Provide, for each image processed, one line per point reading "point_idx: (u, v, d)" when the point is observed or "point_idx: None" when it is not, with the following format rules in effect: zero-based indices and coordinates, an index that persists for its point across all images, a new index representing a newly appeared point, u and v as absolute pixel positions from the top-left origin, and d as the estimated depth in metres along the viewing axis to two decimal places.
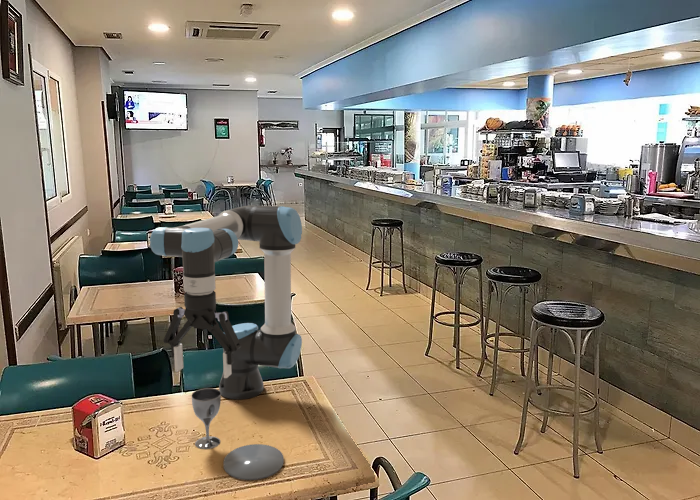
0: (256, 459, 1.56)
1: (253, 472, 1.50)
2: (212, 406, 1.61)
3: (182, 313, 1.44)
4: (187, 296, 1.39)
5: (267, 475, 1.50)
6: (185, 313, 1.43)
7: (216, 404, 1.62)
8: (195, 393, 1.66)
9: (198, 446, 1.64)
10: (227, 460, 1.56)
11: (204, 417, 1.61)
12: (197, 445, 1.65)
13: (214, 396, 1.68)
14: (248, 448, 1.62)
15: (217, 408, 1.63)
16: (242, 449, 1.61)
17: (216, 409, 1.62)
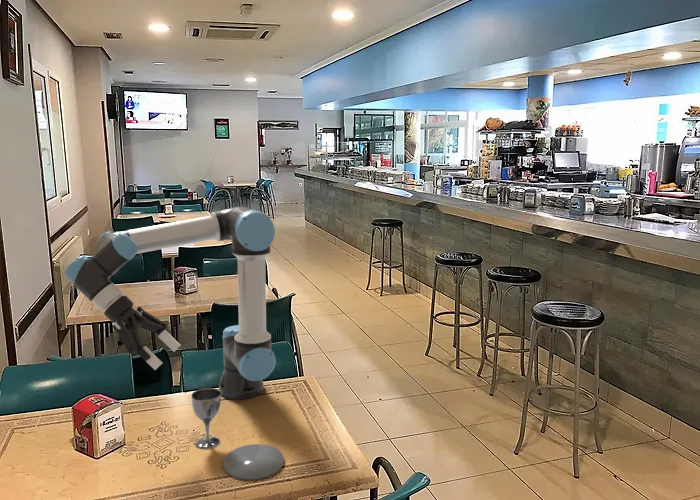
0: (256, 459, 1.56)
1: (253, 472, 1.50)
2: (212, 406, 1.61)
3: None
4: None
5: (267, 475, 1.50)
6: None
7: (216, 404, 1.62)
8: (195, 393, 1.66)
9: (198, 446, 1.64)
10: (227, 460, 1.56)
11: (204, 417, 1.61)
12: (197, 445, 1.65)
13: (214, 396, 1.68)
14: (248, 448, 1.62)
15: (217, 408, 1.63)
16: (242, 449, 1.61)
17: (216, 409, 1.62)
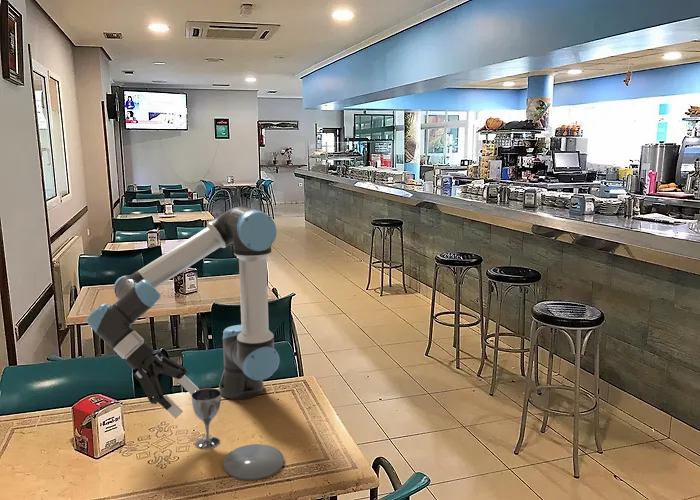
0: (256, 459, 1.56)
1: (253, 472, 1.50)
2: (212, 406, 1.61)
3: None
4: None
5: (267, 475, 1.50)
6: None
7: (216, 404, 1.62)
8: (195, 393, 1.66)
9: (198, 446, 1.64)
10: (227, 460, 1.56)
11: (204, 417, 1.61)
12: (197, 445, 1.65)
13: (214, 396, 1.68)
14: (248, 448, 1.62)
15: (217, 408, 1.63)
16: (242, 449, 1.61)
17: (216, 409, 1.62)
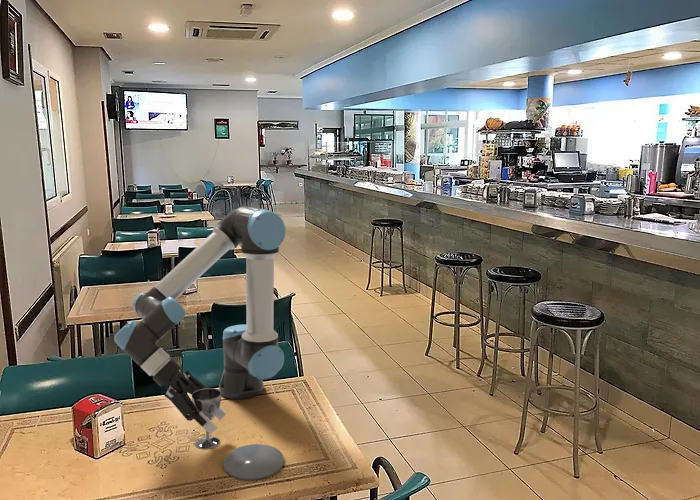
0: (256, 459, 1.56)
1: (253, 472, 1.50)
2: (212, 406, 1.61)
3: None
4: None
5: (267, 475, 1.50)
6: None
7: (216, 404, 1.62)
8: (195, 393, 1.66)
9: (198, 446, 1.64)
10: (227, 460, 1.56)
11: None
12: (197, 445, 1.65)
13: (214, 396, 1.68)
14: (248, 448, 1.62)
15: (217, 408, 1.63)
16: (242, 449, 1.61)
17: (216, 409, 1.62)
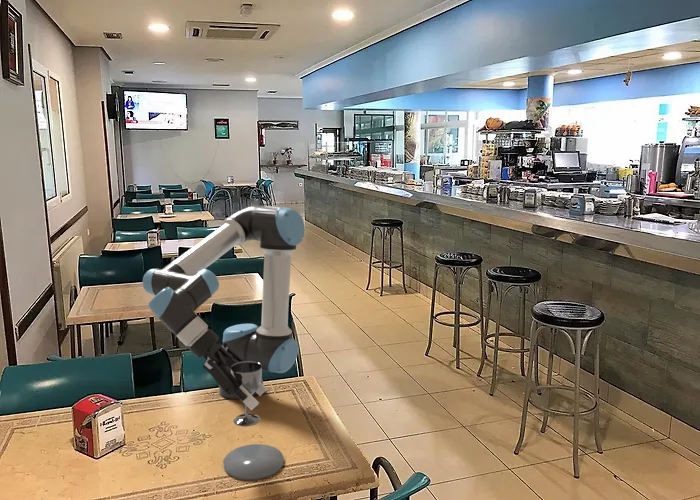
0: (256, 459, 1.56)
1: (253, 472, 1.50)
2: (253, 379, 1.49)
3: None
4: None
5: (267, 475, 1.50)
6: None
7: (257, 378, 1.50)
8: (234, 366, 1.53)
9: (237, 423, 1.52)
10: (227, 460, 1.56)
11: None
12: (236, 422, 1.52)
13: (254, 370, 1.55)
14: (248, 448, 1.62)
15: (258, 382, 1.51)
16: (242, 449, 1.61)
17: (257, 383, 1.50)
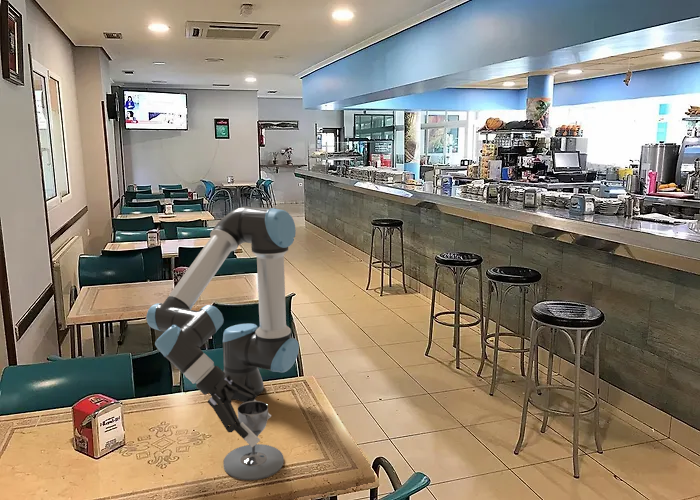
0: None
1: (253, 472, 1.50)
2: (260, 420, 1.51)
3: None
4: None
5: (267, 475, 1.50)
6: None
7: (264, 418, 1.52)
8: (241, 407, 1.56)
9: (244, 463, 1.54)
10: (227, 460, 1.56)
11: None
12: (243, 462, 1.55)
13: (260, 409, 1.58)
14: (248, 448, 1.62)
15: (265, 422, 1.53)
16: (242, 449, 1.61)
17: (264, 424, 1.53)
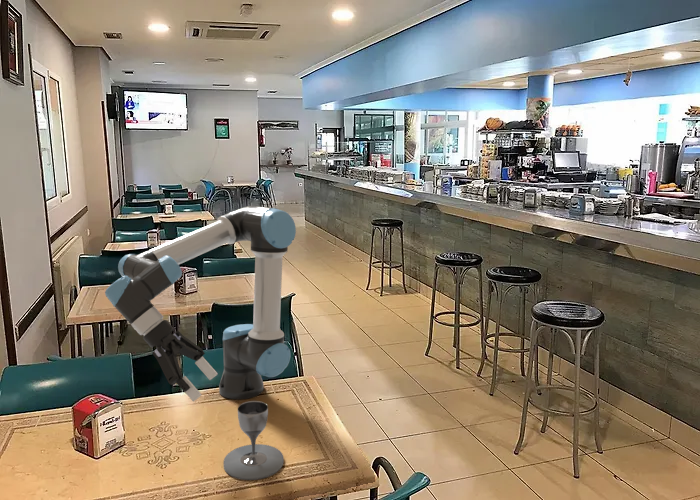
0: None
1: (253, 472, 1.50)
2: (260, 420, 1.51)
3: None
4: None
5: (267, 475, 1.50)
6: None
7: (264, 418, 1.52)
8: (241, 407, 1.56)
9: (244, 463, 1.54)
10: (227, 460, 1.56)
11: (251, 432, 1.52)
12: (243, 462, 1.55)
13: (260, 409, 1.58)
14: (248, 448, 1.62)
15: (265, 422, 1.53)
16: (242, 449, 1.61)
17: (264, 424, 1.53)
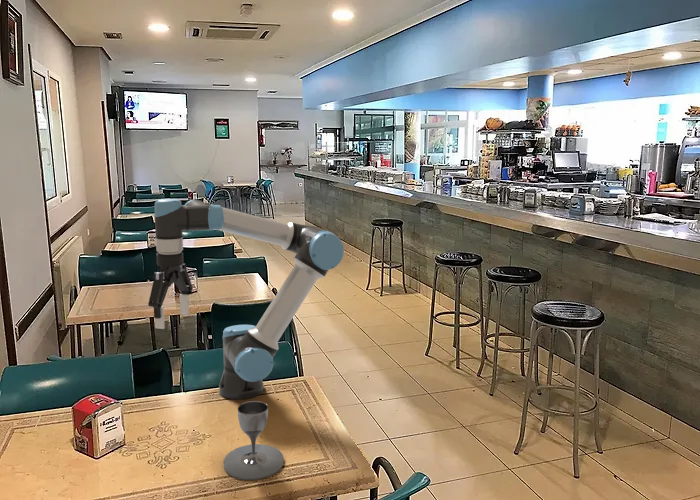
0: None
1: (253, 472, 1.50)
2: (260, 420, 1.51)
3: None
4: None
5: (267, 475, 1.50)
6: None
7: (264, 418, 1.52)
8: (241, 407, 1.56)
9: (244, 463, 1.54)
10: (227, 460, 1.56)
11: (251, 432, 1.52)
12: (243, 462, 1.55)
13: (260, 409, 1.58)
14: (248, 448, 1.62)
15: (265, 422, 1.53)
16: (242, 449, 1.61)
17: (264, 424, 1.53)
